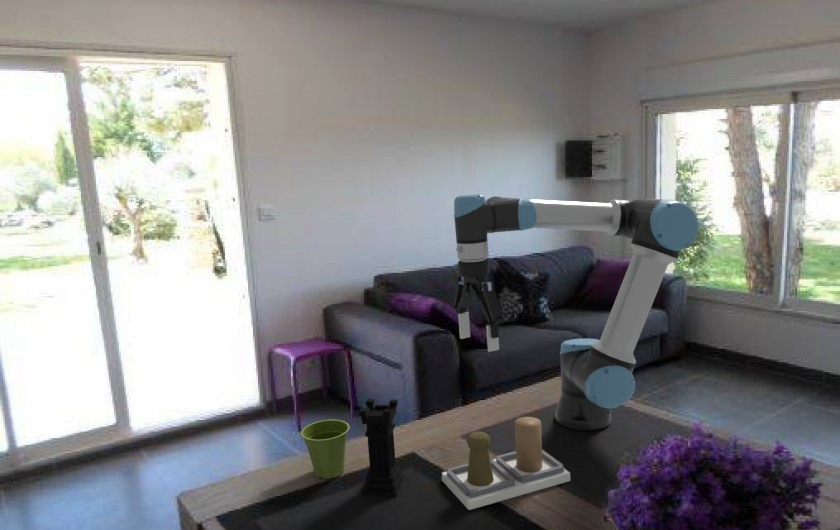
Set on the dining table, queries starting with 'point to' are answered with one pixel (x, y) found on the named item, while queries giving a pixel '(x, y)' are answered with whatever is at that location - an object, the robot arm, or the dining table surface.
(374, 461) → the chess piece
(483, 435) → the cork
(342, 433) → the plant pot
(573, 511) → the dining table surface
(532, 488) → the pin board
